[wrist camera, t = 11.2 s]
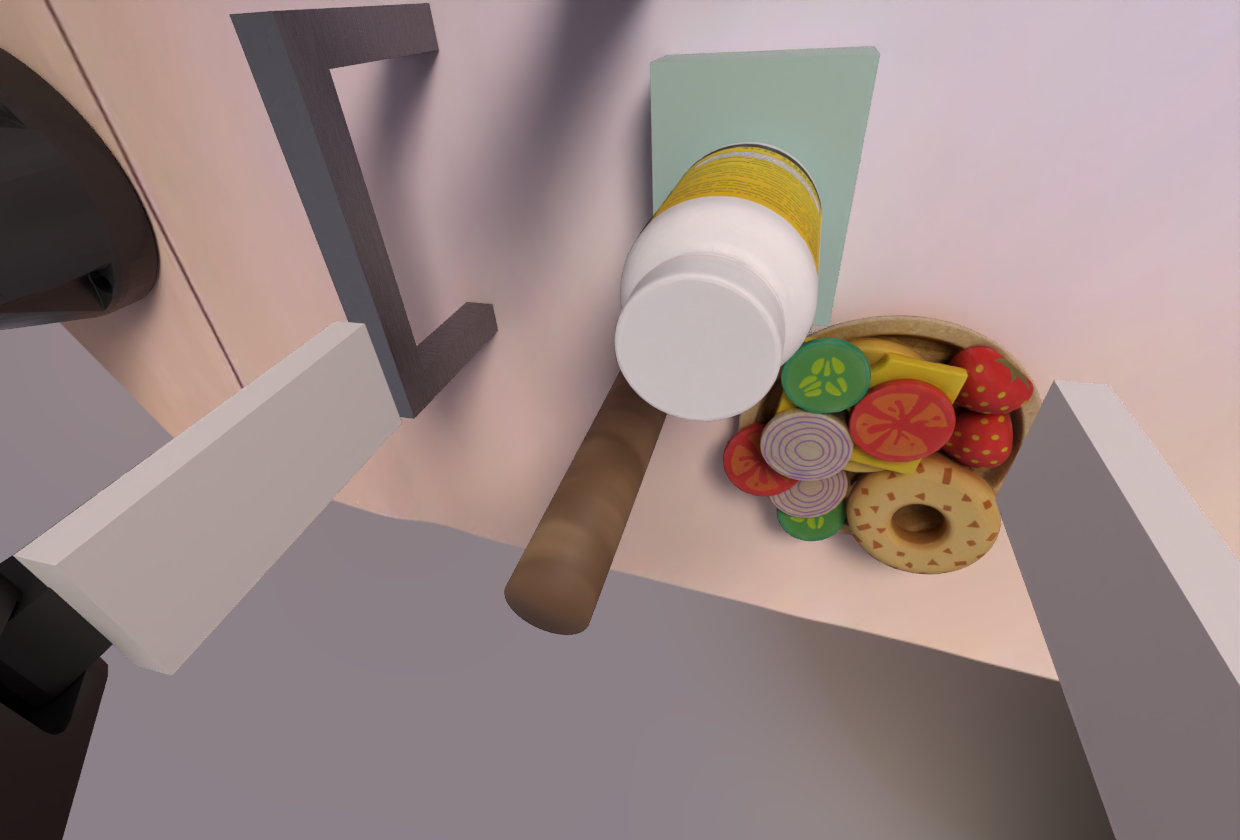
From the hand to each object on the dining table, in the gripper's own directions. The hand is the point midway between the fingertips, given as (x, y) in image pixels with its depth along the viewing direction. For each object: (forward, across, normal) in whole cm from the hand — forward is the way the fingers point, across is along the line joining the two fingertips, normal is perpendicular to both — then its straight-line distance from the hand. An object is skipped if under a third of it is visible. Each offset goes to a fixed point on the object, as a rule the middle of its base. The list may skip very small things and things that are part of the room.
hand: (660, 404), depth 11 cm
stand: (+15, +1, 0) cm, 15 cm away
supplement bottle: (+12, +1, 0) cm, 12 cm away
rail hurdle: (+15, -13, 0) cm, 20 cm away
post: (+15, -4, -9) cm, 18 cm away
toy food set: (+15, +7, -11) cm, 20 cm away
